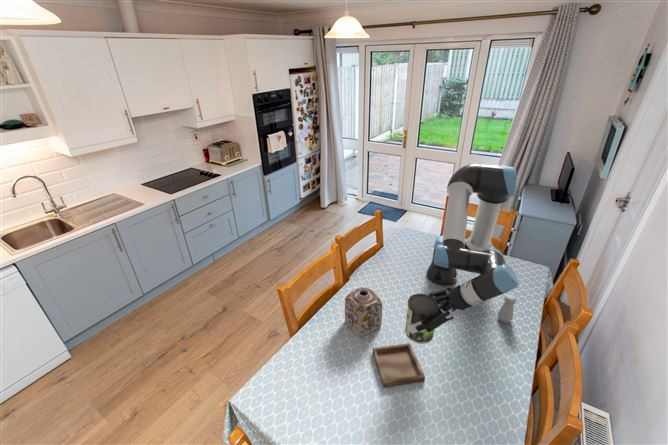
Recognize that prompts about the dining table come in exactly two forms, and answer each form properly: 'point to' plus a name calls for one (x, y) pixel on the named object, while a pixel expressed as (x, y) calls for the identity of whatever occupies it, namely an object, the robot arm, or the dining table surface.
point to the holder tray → (397, 365)
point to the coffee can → (420, 316)
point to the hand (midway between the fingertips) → (411, 319)
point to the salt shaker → (507, 309)
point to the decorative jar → (363, 311)
